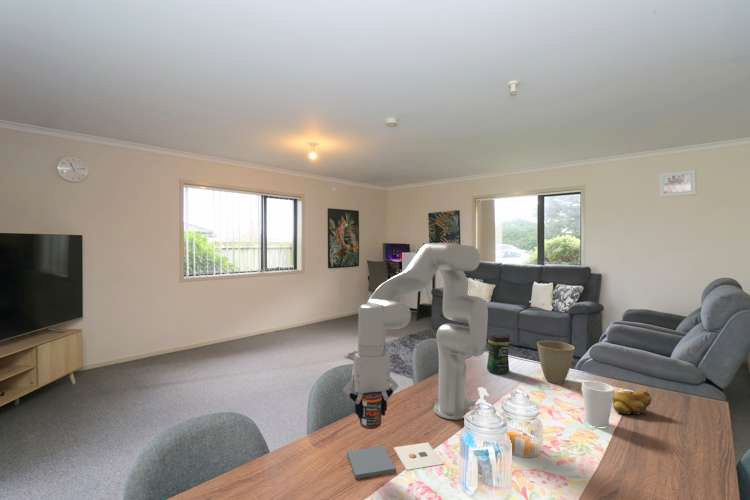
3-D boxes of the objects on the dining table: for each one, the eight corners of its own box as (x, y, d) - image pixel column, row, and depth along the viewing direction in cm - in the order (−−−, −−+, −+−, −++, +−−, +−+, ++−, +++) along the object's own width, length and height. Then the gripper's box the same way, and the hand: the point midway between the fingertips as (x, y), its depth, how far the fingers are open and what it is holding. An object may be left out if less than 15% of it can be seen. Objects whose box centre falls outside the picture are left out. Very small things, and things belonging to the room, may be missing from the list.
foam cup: (577, 423, 124) (578, 385, 123) (584, 414, 131) (585, 378, 130) (610, 434, 117) (611, 394, 117) (615, 423, 124) (616, 385, 124)
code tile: (427, 442, 111) (427, 442, 111) (444, 463, 100) (444, 463, 100) (393, 447, 108) (393, 447, 108) (406, 470, 98) (406, 469, 98)
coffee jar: (493, 375, 168) (494, 335, 168) (484, 369, 176) (485, 331, 175) (512, 373, 171) (512, 334, 170) (502, 368, 178) (502, 330, 178)
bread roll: (624, 418, 128) (625, 396, 128) (601, 406, 137) (602, 385, 137) (654, 415, 131) (655, 393, 130) (630, 403, 140) (630, 382, 140)
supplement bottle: (365, 432, 96) (366, 389, 96) (356, 422, 101) (356, 382, 101) (385, 427, 99) (385, 385, 99) (375, 417, 104) (375, 378, 104)
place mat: (383, 449, 107) (383, 445, 107) (395, 472, 97) (395, 468, 97) (347, 454, 104) (347, 451, 104) (355, 478, 94) (355, 475, 94)
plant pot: (580, 387, 155) (581, 350, 155) (545, 386, 155) (546, 349, 155) (563, 374, 170) (563, 340, 170) (531, 374, 170) (531, 340, 170)
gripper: (397, 343, 106) (396, 405, 106) (338, 347, 101) (337, 412, 101) (406, 351, 99) (405, 417, 99) (343, 355, 94) (342, 425, 94)
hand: (370, 414), depth 100 cm, fingers closed on supplement bottle, 6 cm apart
